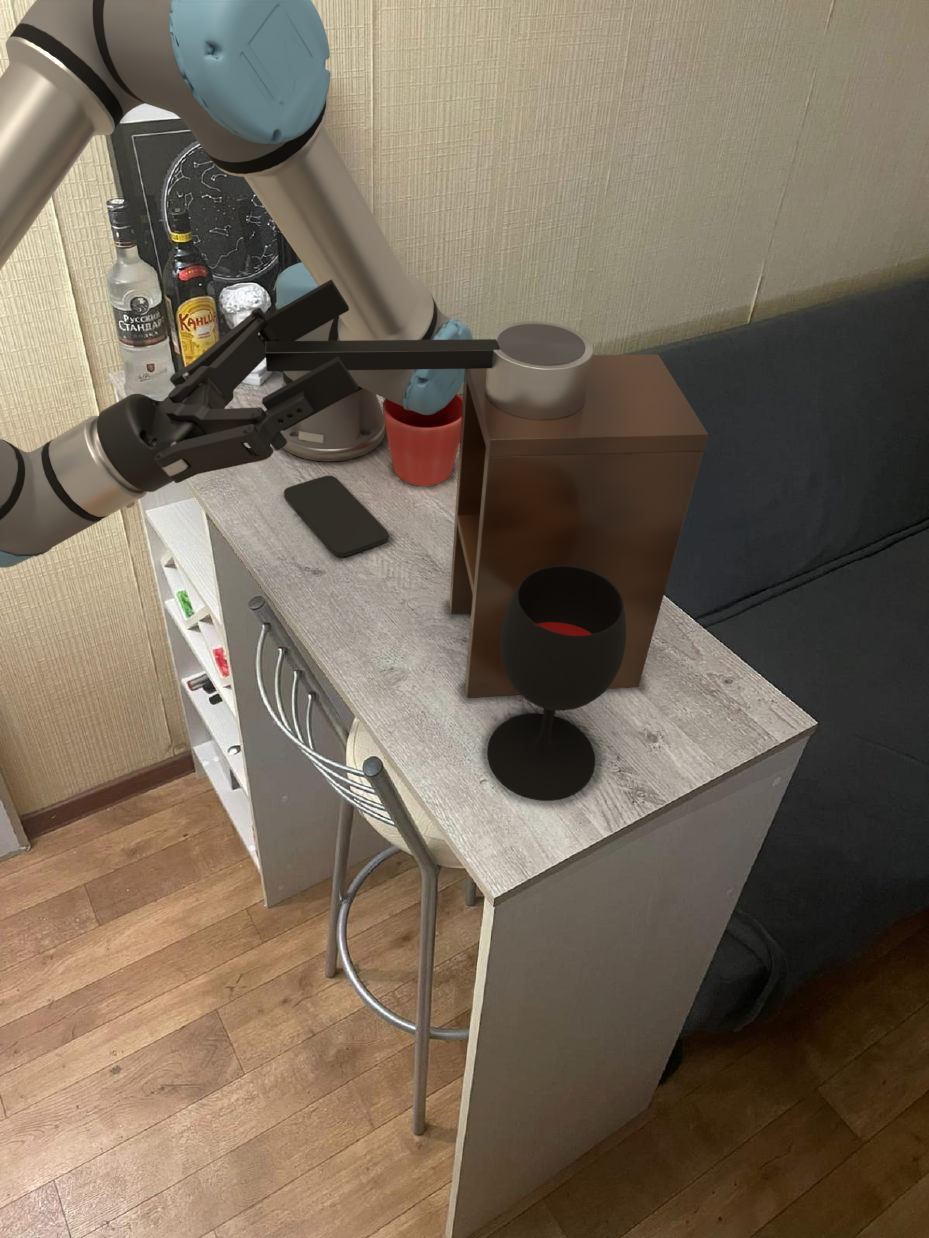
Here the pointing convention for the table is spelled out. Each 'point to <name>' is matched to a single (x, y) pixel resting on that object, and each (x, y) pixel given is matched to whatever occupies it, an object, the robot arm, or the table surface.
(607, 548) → the shelf
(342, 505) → the phone
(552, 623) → the wine glass
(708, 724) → the table surface
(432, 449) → the flower pot
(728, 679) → the table surface
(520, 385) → the pan
